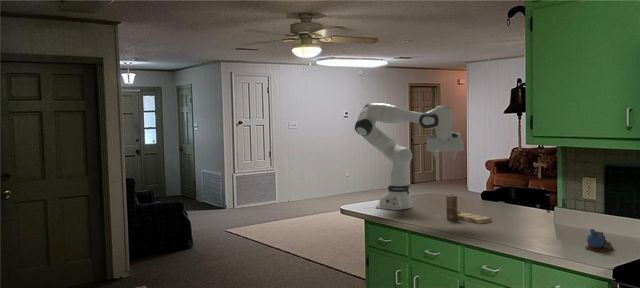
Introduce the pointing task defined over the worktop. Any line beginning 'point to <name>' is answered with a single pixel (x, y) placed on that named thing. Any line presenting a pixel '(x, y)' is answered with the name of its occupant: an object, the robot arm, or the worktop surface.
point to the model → (598, 242)
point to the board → (473, 218)
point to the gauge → (452, 207)
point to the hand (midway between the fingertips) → (445, 159)
